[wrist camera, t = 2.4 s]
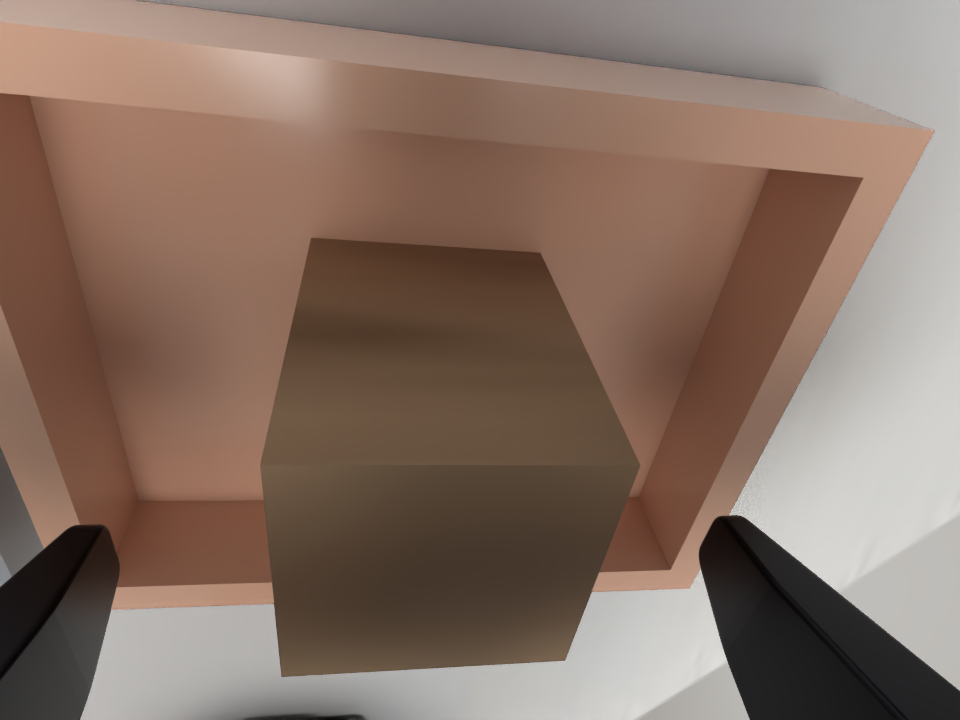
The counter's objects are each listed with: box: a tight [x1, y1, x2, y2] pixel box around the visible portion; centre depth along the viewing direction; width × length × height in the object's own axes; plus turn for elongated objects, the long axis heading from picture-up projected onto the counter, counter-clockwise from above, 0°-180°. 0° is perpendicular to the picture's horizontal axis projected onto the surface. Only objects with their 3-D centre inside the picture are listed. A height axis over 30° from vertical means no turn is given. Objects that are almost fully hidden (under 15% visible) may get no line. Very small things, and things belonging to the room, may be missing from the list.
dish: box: [0, 0, 934, 610], centre depth 13 cm, size 12×15×3 cm
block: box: [260, 238, 641, 677], centre depth 11 cm, size 4×4×6 cm
